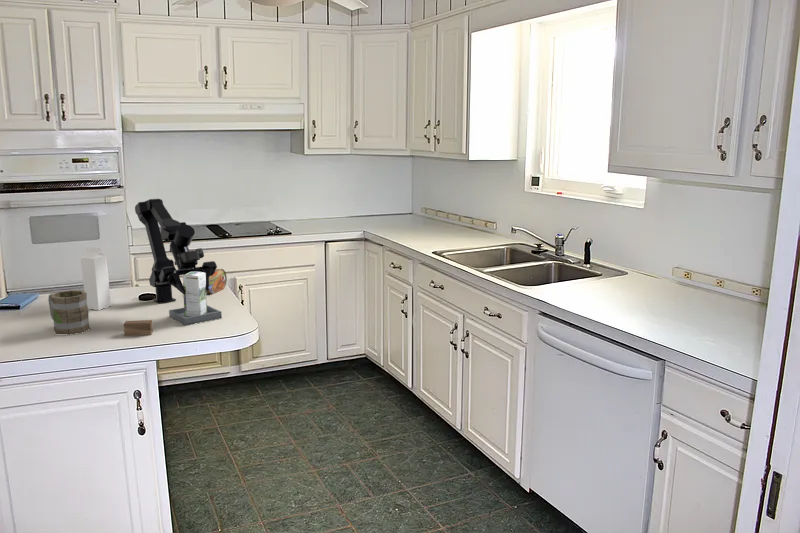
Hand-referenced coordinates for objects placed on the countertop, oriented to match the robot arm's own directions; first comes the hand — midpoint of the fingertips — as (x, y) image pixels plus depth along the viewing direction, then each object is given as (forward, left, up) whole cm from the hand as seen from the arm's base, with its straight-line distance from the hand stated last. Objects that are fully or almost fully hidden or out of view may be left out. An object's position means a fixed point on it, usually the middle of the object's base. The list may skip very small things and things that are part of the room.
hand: (196, 292), depth 229 cm
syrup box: (-1, 0, -8) cm, 9 cm away
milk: (-37, -21, -10) cm, 44 cm away
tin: (-33, +22, -10) cm, 41 cm away
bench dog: (+3, -21, -10) cm, 24 cm away
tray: (-2, 0, -10) cm, 10 cm away
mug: (-17, -37, -10) cm, 42 cm away
